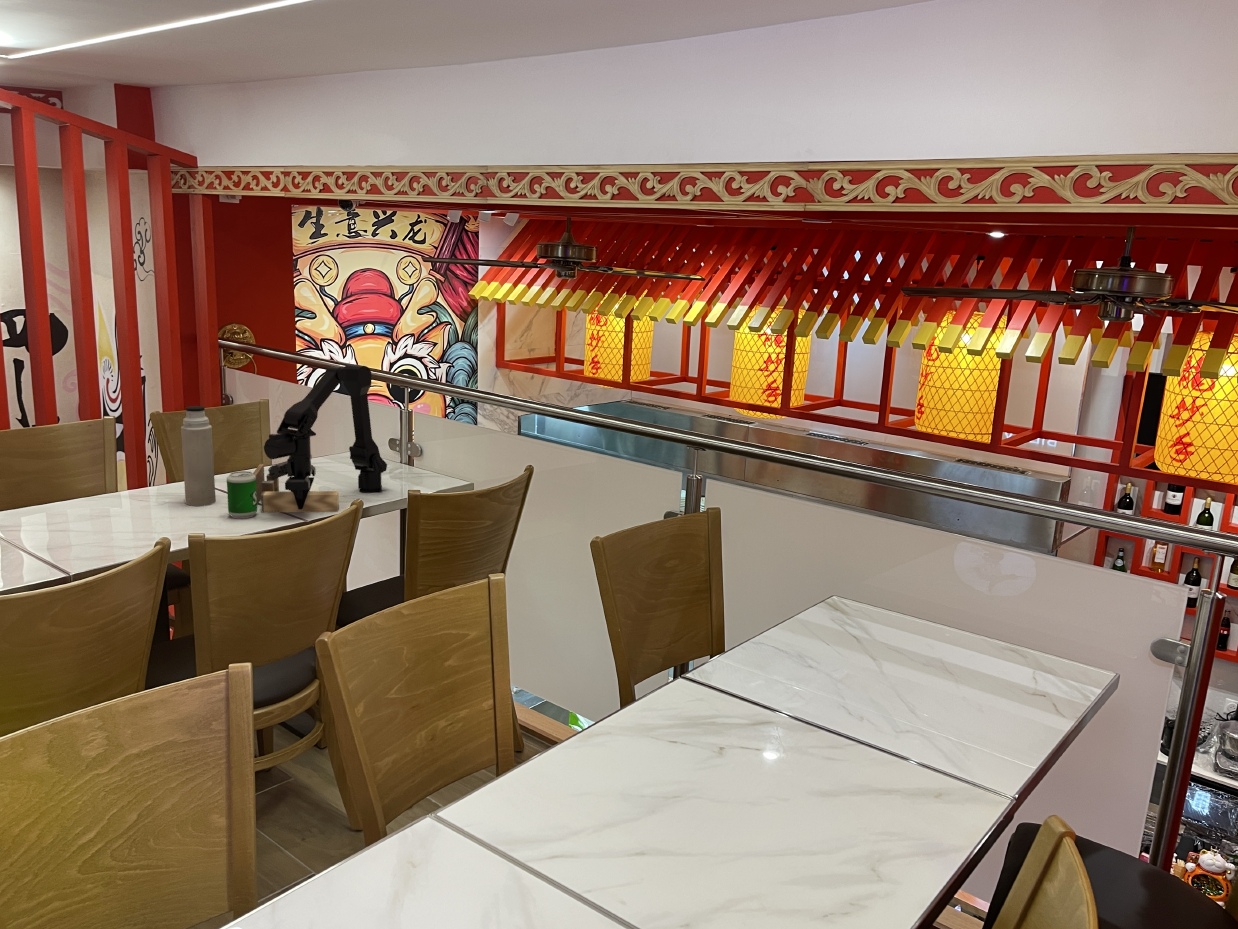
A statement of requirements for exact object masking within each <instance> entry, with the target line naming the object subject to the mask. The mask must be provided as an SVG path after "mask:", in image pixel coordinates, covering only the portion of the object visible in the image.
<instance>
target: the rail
mask: <svg viewBox="0 0 1238 929" xmlns="http://www.w3.org/2000/svg"><path fill="white" fill-rule="evenodd" d="M339 501H340V499H339V491H338V490H333V491H332V490H324V491H323V490H321V491H320V490H319V491H318V490H315V491H314V490H312V491H311V490H310V491H309V492H308V495H307V498H306V501H305V503H304V506H303V509H298V506H297V503H296V500H295V496H294V493H293V492H291V491H290V490H287V491H280V490H279V491H277V492H263V493H262V494H261V500H260V503H261V504H260V505H261V506H260V507H261V508H260V509H261V510H260V511H261V513H315V512H316V513H318V512H319V513H320V512H322V513H323V512H324V513H325V512H328V513H329V512H332V513H333V512H338V511H339V508H340V506H339Z"/></svg>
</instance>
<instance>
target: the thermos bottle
mask: <svg viewBox="0 0 1238 929" xmlns="http://www.w3.org/2000/svg"><path fill="white" fill-rule="evenodd" d="M205 409H206V408H205V406H201V405H195V406H194V405H191V406H186V407H185V411H186V412H185V414H186V416H185V418H183V420H182V424H183V425H182V426H181V427H180V431H181V432H180V433H181V434H180V435H181V448H182V450H181V451H182V464H183V465H182V466H183V481H184V499H185V500H184V501H185V504H186V505H187V504H188V505H187V506H190V505H193V506H192V507H202V506H204V505H205V506H210V505H212V504H215V503H216V502H217V500H216V498H217V497H216V485H215V484H216V482H215V481H216V480H215V470H214V468H215V467H214V466H215V465H214V447H213V446H214V445H213V444H214V443H213V426H212V425H211V424H210V420H209V417H208V416H206V412H205Z"/></svg>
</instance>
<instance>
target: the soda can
mask: <svg viewBox="0 0 1238 929" xmlns="http://www.w3.org/2000/svg"><path fill="white" fill-rule="evenodd" d="M253 473H254V472H253V471H247V470H241V471H240V470H238V471H233V472H231V473H229V475H227V477H226V491H227V509H228V510H227V512H228V514H229V515H230V516H231V517H232V518H234V519H249V518H253V517H254V516H255V515H256V514H257V513H258V505H257V490H256V476H255V475H254V474H253Z"/></svg>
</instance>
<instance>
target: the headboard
mask: <svg viewBox="0 0 1238 929" xmlns="http://www.w3.org/2000/svg"><path fill="white" fill-rule="evenodd" d="M252 473H253V474H254V475H255V476H256V490H257V506H258V505H259V503H261V494H262V493H263V492H277V491H280V485H279V484H280V482H279V481H280V480H279V478H280V477H279V478H277V479H275V480H272V478H271V476H269V473H267V474H266V476H265V463H260V464H258V466H257V467H256V468H255V470H254V471H253V472H252ZM265 477H266V480H265Z"/></svg>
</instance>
